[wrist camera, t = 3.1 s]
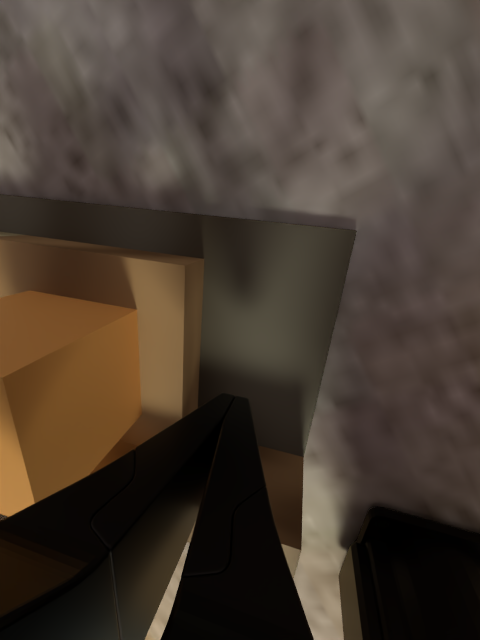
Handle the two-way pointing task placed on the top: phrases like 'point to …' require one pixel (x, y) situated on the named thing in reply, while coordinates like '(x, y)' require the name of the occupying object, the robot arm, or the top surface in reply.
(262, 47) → the top surface
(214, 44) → the top surface
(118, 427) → the block
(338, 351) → the top surface
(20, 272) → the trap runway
